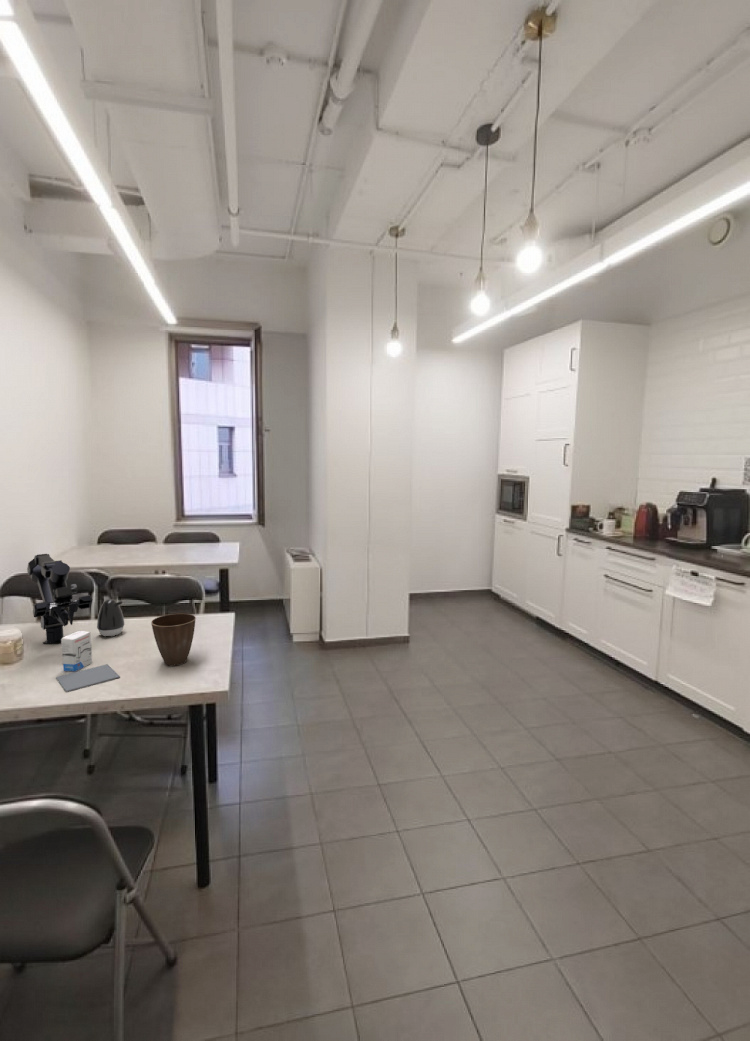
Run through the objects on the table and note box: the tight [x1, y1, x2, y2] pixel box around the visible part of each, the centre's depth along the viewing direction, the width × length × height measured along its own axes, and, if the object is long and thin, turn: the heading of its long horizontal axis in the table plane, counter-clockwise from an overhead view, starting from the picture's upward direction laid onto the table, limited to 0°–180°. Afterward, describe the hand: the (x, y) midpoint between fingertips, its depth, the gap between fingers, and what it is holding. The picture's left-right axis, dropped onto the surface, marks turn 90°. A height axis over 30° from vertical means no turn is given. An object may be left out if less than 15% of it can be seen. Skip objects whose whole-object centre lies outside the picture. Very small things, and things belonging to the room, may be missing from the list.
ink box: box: [60, 630, 93, 672], centre depth 182 cm, size 9×5×12 cm, turn 168°
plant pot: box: [151, 613, 197, 667], centre depth 186 cm, size 15×15×16 cm
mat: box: [55, 663, 121, 693], centre depth 173 cm, size 14×16×1 cm
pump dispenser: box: [96, 598, 125, 637], centre depth 214 cm, size 10×10×15 cm
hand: (68, 625), depth 188 cm, fingers closed
